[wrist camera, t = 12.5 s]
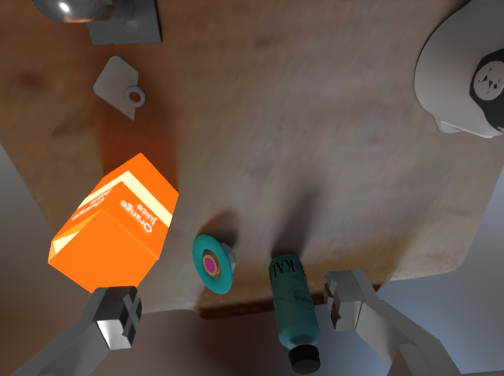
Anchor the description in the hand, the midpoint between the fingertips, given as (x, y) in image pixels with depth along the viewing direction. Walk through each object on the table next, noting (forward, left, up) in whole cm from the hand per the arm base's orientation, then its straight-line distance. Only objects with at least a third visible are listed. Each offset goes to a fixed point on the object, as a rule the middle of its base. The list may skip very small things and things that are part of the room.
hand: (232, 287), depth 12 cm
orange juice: (+15, +12, -31) cm, 37 cm away
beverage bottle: (-8, +30, -31) cm, 44 cm away
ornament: (+5, +26, -31) cm, 41 cm away
